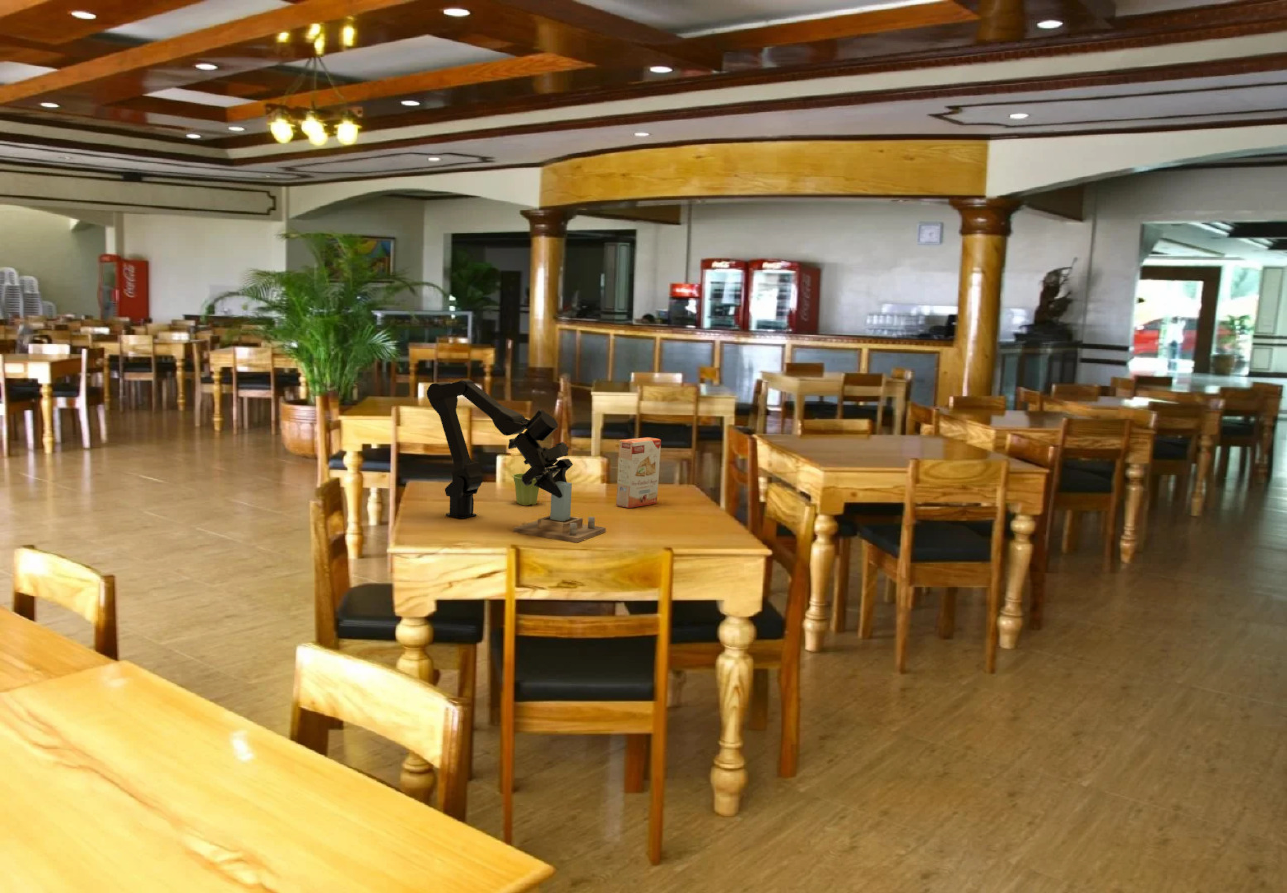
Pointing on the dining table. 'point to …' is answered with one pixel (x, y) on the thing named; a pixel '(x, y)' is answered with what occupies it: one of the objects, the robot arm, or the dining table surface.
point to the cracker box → (638, 472)
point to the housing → (561, 529)
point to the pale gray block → (561, 502)
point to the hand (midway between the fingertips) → (565, 495)
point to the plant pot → (525, 491)
